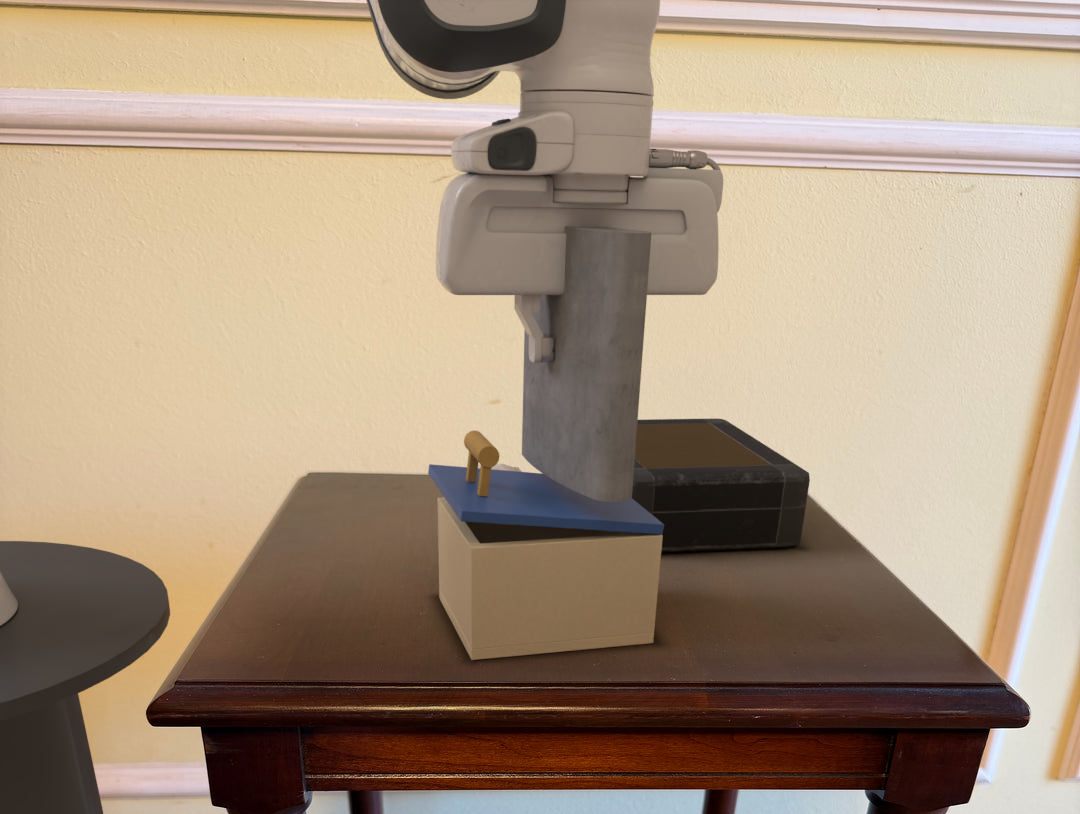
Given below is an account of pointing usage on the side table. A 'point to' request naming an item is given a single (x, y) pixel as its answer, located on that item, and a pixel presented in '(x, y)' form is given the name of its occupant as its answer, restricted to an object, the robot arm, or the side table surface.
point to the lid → (529, 497)
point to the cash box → (717, 486)
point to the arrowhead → (504, 467)
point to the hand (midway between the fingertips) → (575, 360)
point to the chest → (545, 586)
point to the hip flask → (590, 366)
